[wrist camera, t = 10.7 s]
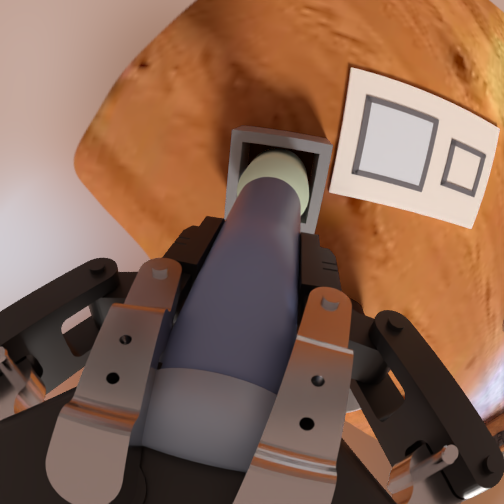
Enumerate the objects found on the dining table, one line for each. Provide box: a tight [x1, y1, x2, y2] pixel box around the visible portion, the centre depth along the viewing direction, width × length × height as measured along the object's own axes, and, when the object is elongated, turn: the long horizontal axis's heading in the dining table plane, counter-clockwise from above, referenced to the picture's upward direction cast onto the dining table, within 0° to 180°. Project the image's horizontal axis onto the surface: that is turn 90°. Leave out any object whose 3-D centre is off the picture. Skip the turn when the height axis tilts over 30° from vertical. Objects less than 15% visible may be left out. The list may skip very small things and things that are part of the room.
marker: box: [142, 177, 301, 472], centre depth 9 cm, size 3×3×12 cm
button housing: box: [224, 125, 333, 234], centre depth 21 cm, size 7×7×4 cm
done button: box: [237, 148, 309, 215], centre depth 19 cm, size 5×5×4 cm
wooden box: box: [485, 413, 504, 456], centre depth 39 cm, size 30×16×14 cm, turn 135°
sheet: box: [329, 67, 500, 229], centre depth 20 cm, size 16×11×1 cm
